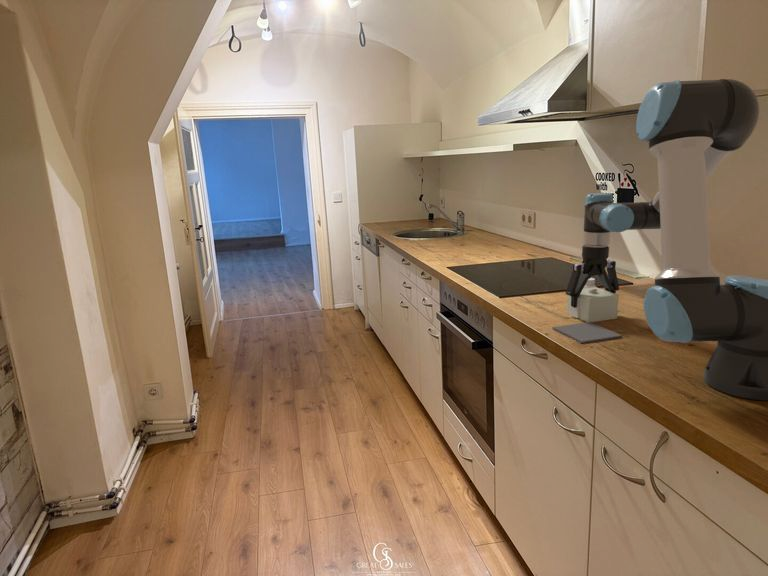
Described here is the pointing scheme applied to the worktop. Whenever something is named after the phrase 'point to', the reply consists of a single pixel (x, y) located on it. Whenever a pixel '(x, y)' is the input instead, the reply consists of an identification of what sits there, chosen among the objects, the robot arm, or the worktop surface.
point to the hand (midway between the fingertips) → (590, 314)
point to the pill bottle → (590, 283)
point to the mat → (586, 332)
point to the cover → (596, 305)
